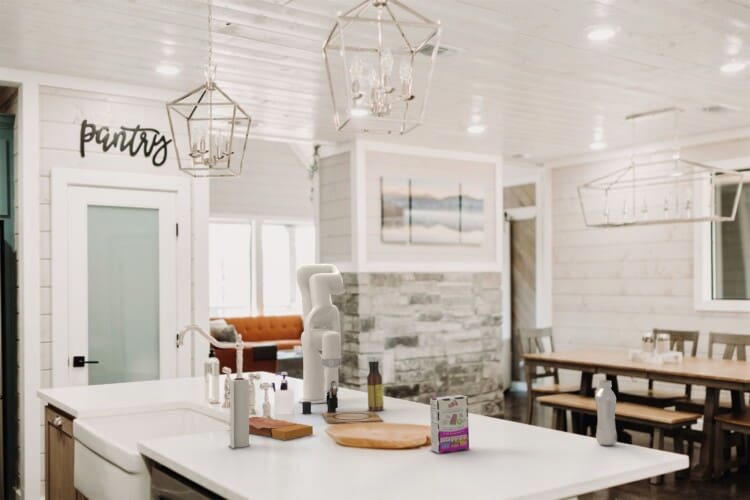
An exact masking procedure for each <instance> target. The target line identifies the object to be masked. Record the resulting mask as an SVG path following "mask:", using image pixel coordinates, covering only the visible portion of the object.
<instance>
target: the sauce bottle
mask: <svg viewBox="0 0 750 500" xmlns="http://www.w3.org/2000/svg"><path fill="white" fill-rule="evenodd" d="M379 364H380V362H379V360H369V361H368V367H369V373H368V375H367V377H366V382H367V384H366V387H367V405H368V411H373V412H376V411H377V412H380V411H383V410H384V387H383V386H384V385H383V377H382V375H381V373H380V369H379V368H380V367H379Z"/></svg>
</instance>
